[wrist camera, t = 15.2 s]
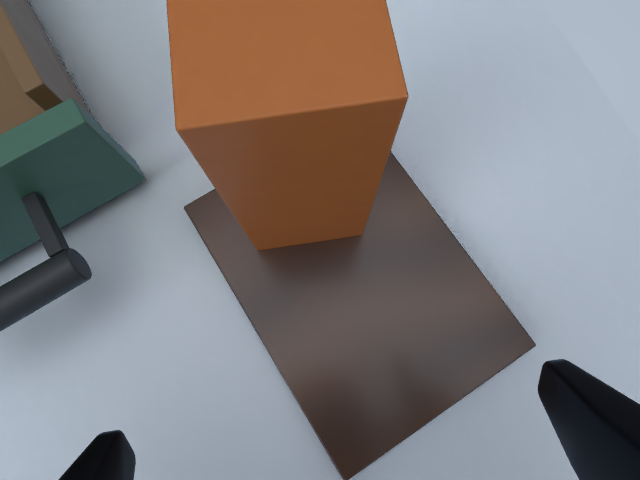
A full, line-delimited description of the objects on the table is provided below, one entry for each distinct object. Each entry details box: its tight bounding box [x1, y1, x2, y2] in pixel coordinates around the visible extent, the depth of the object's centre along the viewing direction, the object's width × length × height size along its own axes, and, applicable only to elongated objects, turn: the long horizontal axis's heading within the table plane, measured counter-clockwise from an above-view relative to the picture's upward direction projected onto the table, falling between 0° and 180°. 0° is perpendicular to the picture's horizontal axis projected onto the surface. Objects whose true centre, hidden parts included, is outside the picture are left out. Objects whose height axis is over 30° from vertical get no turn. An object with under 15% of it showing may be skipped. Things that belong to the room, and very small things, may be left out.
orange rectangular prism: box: [166, 0, 408, 251], centre depth 15 cm, size 4×5×11 cm
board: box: [184, 151, 536, 480], centre depth 19 cm, size 14×10×1 cm
